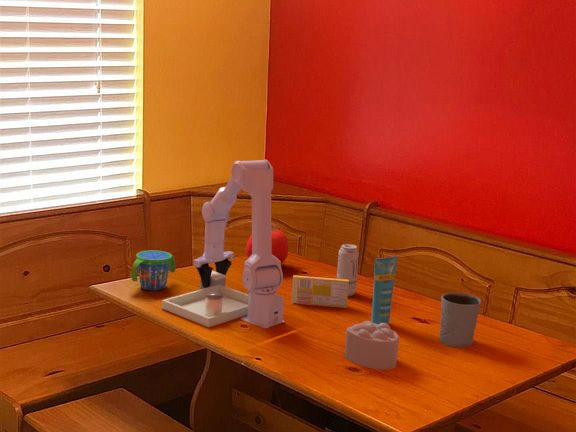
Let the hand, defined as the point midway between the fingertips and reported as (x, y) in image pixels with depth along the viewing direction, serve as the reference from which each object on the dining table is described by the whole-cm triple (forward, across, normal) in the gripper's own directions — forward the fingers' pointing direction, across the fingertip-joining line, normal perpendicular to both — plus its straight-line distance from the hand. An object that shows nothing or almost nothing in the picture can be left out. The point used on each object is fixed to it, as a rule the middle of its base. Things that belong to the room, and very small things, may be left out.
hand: (212, 285), depth 249 cm
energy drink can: (+2, -29, +28) cm, 40 cm away
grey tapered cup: (+2, -21, +71) cm, 74 cm away
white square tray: (+1, +12, +13) cm, 18 cm away
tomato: (+2, -29, -5) cm, 29 cm away
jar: (+1, +17, +18) cm, 25 cm away
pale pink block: (+2, 0, 0) cm, 2 cm away
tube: (+2, -16, +50) cm, 53 cm away
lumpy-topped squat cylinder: (+2, +6, +63) cm, 63 cm away
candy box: (+2, -15, +29) cm, 33 cm away
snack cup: (+2, +12, -13) cm, 18 cm away
